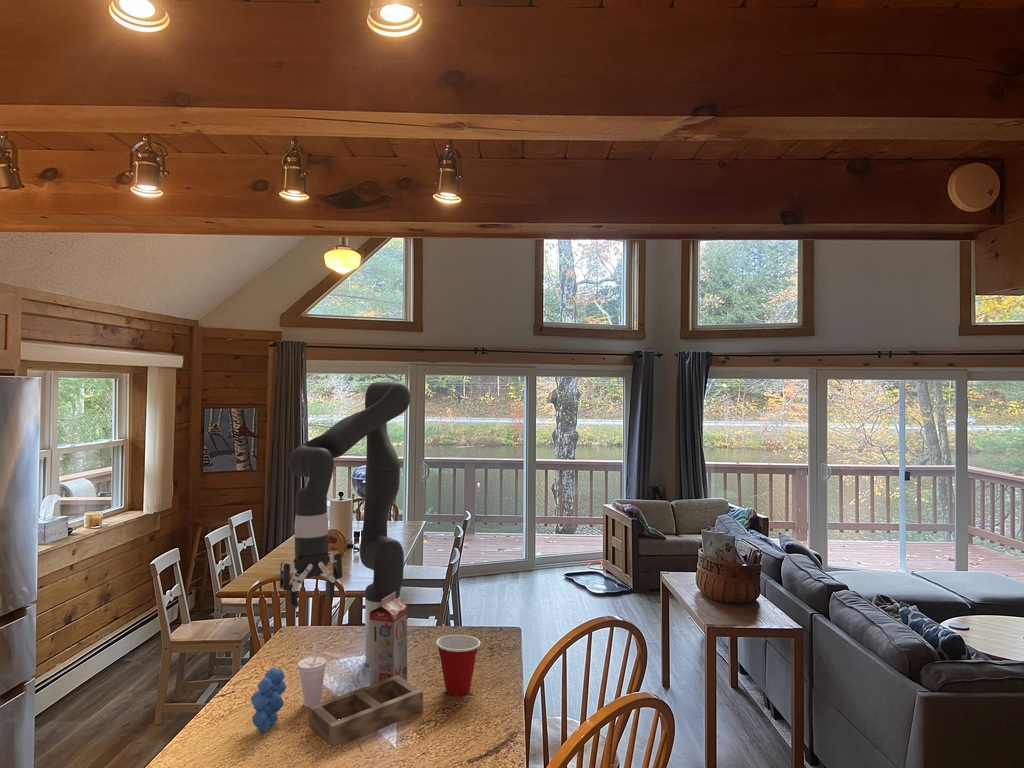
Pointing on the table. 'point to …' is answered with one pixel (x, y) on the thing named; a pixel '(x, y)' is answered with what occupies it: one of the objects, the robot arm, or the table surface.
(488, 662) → the table surface
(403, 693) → the slot rack
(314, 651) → the smoothie
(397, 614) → the juice carton
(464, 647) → the plastic cup
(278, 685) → the grapes
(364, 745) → the table surface
